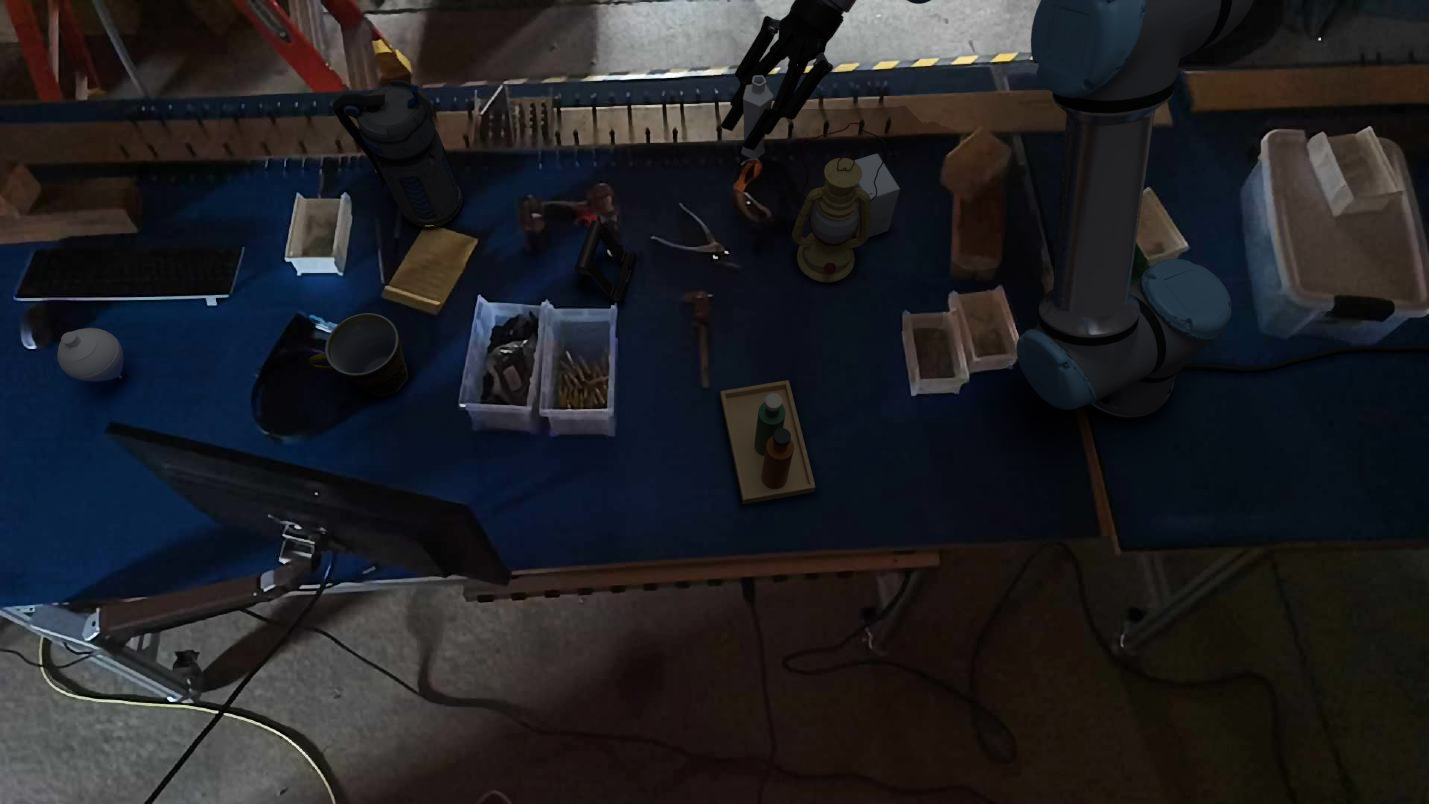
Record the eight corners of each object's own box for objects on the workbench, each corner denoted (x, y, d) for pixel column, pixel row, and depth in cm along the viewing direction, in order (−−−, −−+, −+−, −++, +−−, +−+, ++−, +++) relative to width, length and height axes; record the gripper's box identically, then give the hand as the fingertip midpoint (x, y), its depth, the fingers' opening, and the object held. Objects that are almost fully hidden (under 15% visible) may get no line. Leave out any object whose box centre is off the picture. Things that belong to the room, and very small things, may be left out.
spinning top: (90, 404, 126) (32, 365, 115) (98, 358, 129) (43, 316, 119) (144, 397, 127) (92, 357, 116) (151, 352, 130) (101, 309, 119)
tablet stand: (622, 305, 134) (617, 274, 127) (574, 295, 135) (566, 264, 127) (636, 259, 138) (632, 227, 130) (589, 250, 139) (582, 217, 131)
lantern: (788, 285, 136) (808, 152, 109) (787, 234, 140) (806, 94, 113) (864, 287, 136) (903, 154, 109) (861, 236, 140) (897, 96, 113)
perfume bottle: (764, 163, 140) (772, 94, 126) (738, 158, 140) (742, 89, 127) (769, 141, 142) (777, 71, 128) (743, 137, 142) (748, 66, 129)
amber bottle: (784, 463, 122) (793, 420, 109) (789, 487, 121) (799, 446, 108) (759, 467, 122) (765, 425, 109) (764, 491, 120) (771, 451, 107)
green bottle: (776, 431, 124) (784, 385, 111) (781, 454, 123) (790, 410, 110) (752, 435, 124) (757, 390, 111) (757, 458, 122) (763, 415, 109)
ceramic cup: (415, 341, 131) (393, 305, 122) (424, 397, 127) (402, 365, 118) (328, 362, 129) (299, 327, 120) (334, 420, 125) (305, 388, 116)
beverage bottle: (389, 186, 144) (330, 68, 122) (469, 179, 145) (425, 61, 122) (386, 235, 140) (324, 122, 117) (468, 228, 140) (422, 115, 118)
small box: (888, 232, 141) (901, 189, 131) (857, 242, 140) (868, 200, 130) (867, 195, 144) (878, 151, 135) (836, 205, 143) (845, 161, 134)
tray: (787, 386, 128) (788, 379, 126) (814, 492, 121) (815, 487, 119) (720, 397, 127) (720, 390, 125) (742, 504, 120) (743, 499, 118)
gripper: (878, 40, 126) (786, 174, 136) (795, -23, 132) (713, 111, 142) (857, 26, 119) (762, 168, 129) (772, -39, 125) (687, 102, 135)
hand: (737, 137), depth 135 cm, fingers closed on perfume bottle, 4 cm apart
